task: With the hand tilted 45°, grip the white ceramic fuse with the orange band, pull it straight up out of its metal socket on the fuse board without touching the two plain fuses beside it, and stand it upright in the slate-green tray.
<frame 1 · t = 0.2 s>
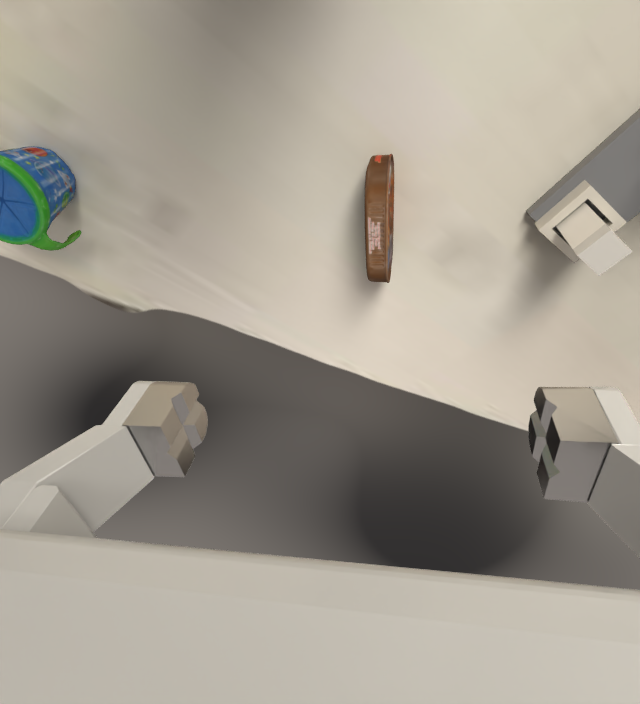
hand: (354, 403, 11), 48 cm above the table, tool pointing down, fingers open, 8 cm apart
plain fuse B: (576, 219, 52), point 1 cm above the table, touching fuse board
tin: (381, 209, 56), on the table
snack cup: (51, 175, 59), on the table
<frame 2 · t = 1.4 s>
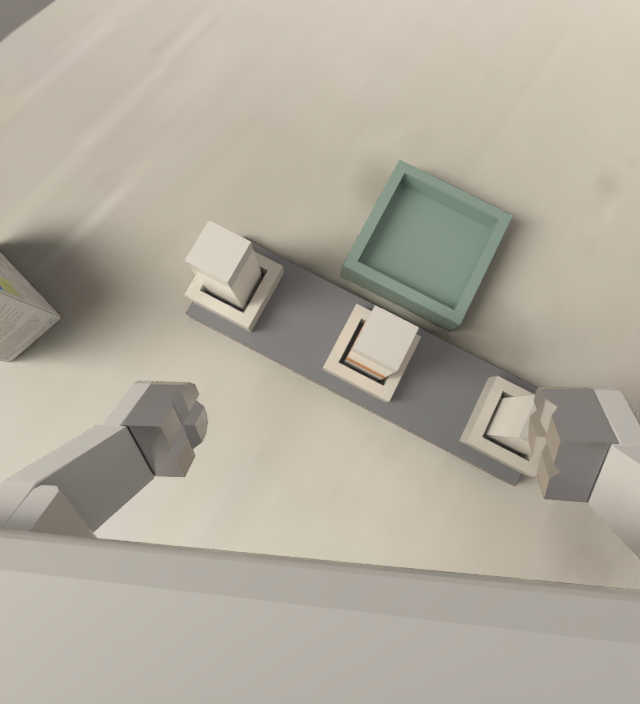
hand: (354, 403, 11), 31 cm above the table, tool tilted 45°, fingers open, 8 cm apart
plain fuse B: (506, 425, 40), point 1 cm above the table, touching fuse board
plain fuse A: (237, 286, 42), point 1 cm above the table, touching fuse board
light bulb box: (3, 303, 43), on the table
tray: (421, 252, 44), on the table
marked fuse: (369, 355, 41), point 1 cm above the table, touching fuse board
fuse board: (367, 357, 43), on the table
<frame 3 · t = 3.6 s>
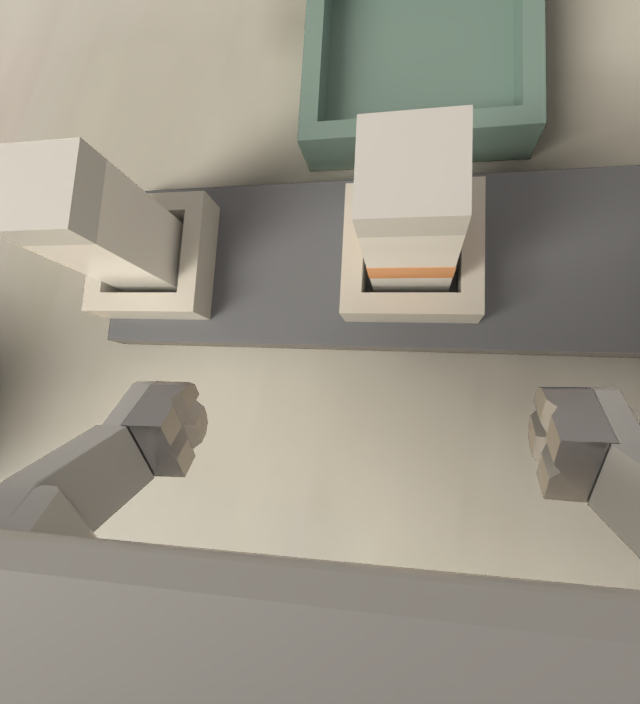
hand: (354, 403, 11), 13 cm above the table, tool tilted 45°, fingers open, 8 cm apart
plain fuse A: (162, 263, 25), point 1 cm above the table, touching fuse board
tray: (417, 68, 26), on the table
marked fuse: (411, 260, 23), point 1 cm above the table, touching fuse board
fuse board: (411, 269, 24), on the table
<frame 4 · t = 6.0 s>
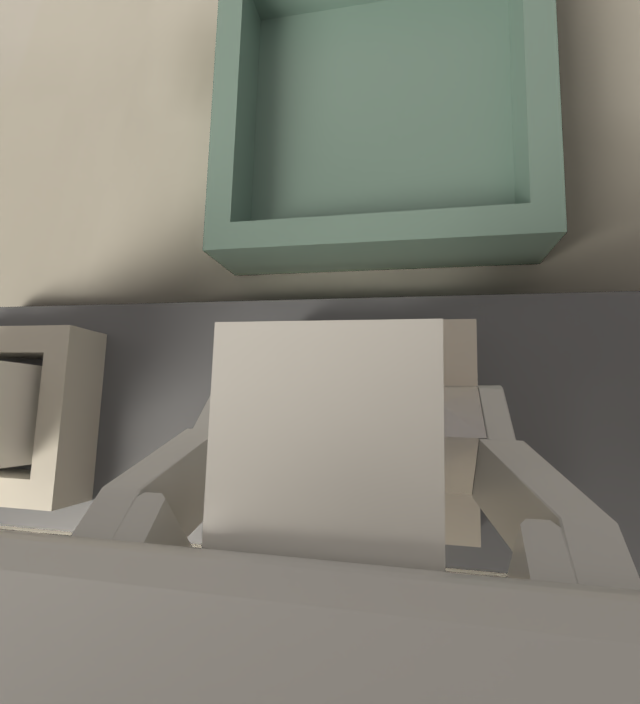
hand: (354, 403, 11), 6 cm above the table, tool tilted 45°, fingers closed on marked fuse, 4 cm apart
plain fuse A: (30, 413, 18), point 1 cm above the table, touching fuse board
tray: (378, 130, 18), on the table
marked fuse: (371, 424, 15), point 2 cm above the table, touching fuse board, gripper
fuse board: (375, 423, 17), on the table
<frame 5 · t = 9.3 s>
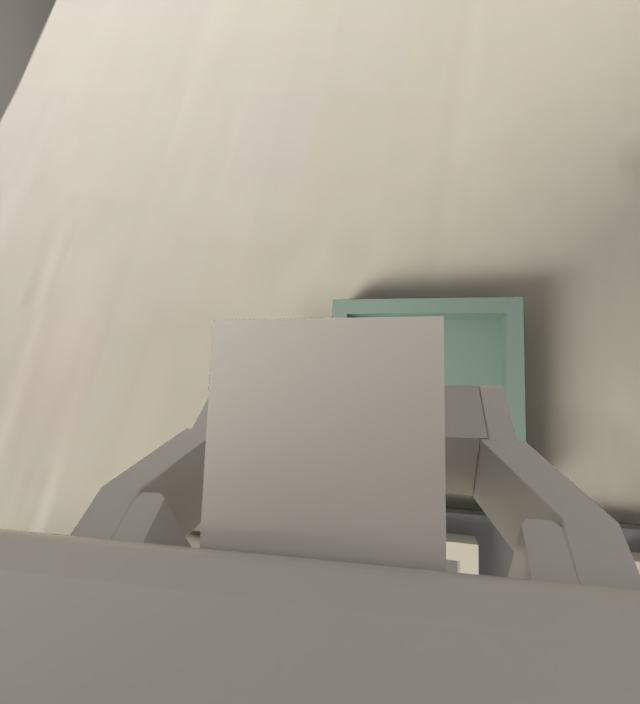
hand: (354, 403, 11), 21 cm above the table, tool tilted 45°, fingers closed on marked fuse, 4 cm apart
tray: (422, 393, 31), on the table
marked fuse: (371, 422, 15), point 16 cm above the table, touching gripper
fuse board: (420, 576, 29), on the table
when the fingers open (7 cm above the table, at t = 13.0 s): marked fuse drops 2 cm, resting on tray.
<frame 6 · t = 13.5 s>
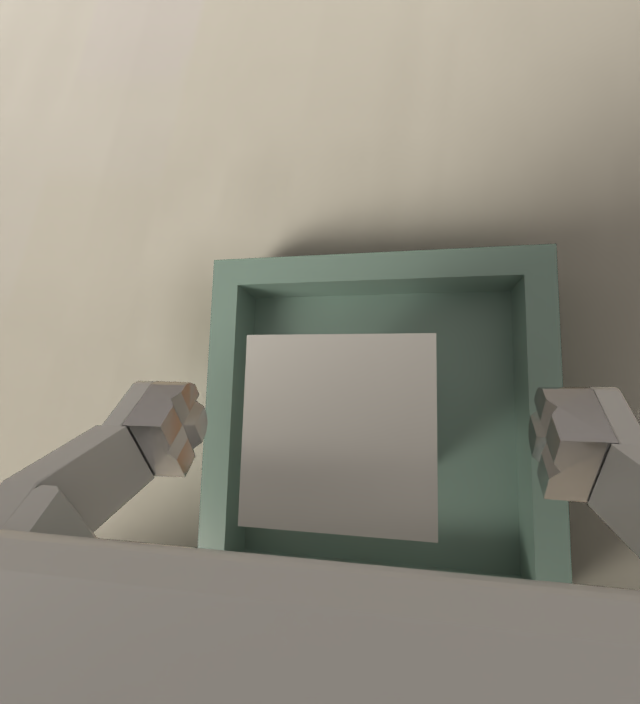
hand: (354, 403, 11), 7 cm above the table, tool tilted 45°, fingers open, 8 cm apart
tray: (377, 422, 18), on the table
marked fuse: (375, 421, 17), point 1 cm above the table, touching tray
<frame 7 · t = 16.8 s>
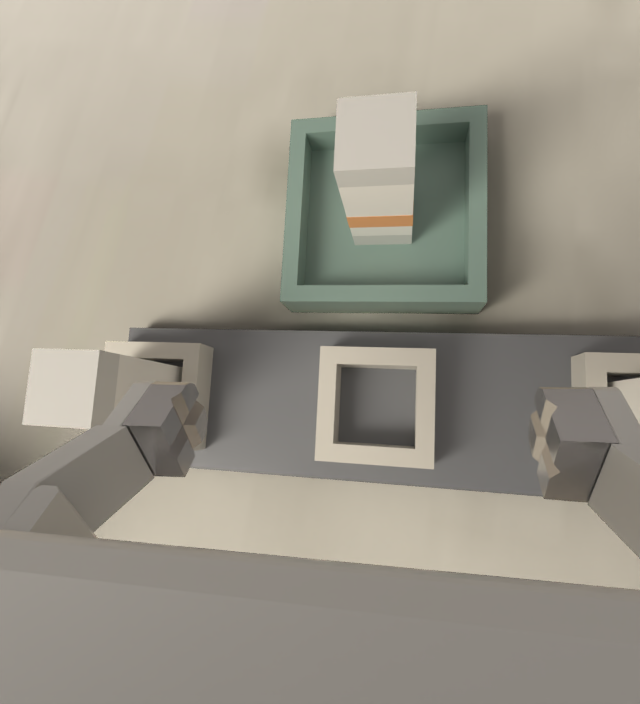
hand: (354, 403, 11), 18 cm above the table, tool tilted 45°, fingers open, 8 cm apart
plain fuse B: (637, 418, 24), point 1 cm above the table, touching fuse board
plain fuse A: (163, 395, 29), point 1 cm above the table, touching fuse board
tray: (384, 225, 30), on the table
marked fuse: (383, 217, 29), point 1 cm above the table, touching tray
fuse board: (378, 406, 28), on the table
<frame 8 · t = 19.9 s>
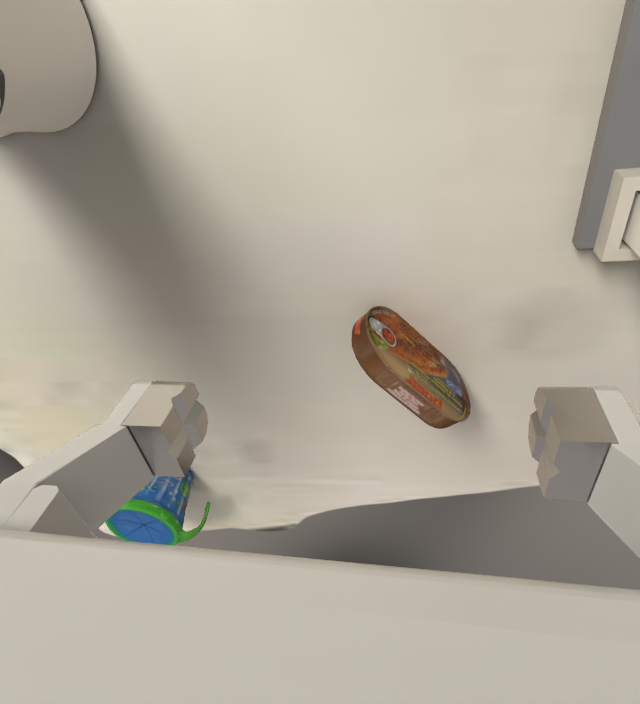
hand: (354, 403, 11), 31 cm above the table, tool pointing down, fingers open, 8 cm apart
tin: (411, 343, 48), on the table
snack cup: (172, 469, 69), on the table
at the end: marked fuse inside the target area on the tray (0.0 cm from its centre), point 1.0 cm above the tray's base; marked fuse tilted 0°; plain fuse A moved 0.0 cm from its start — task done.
